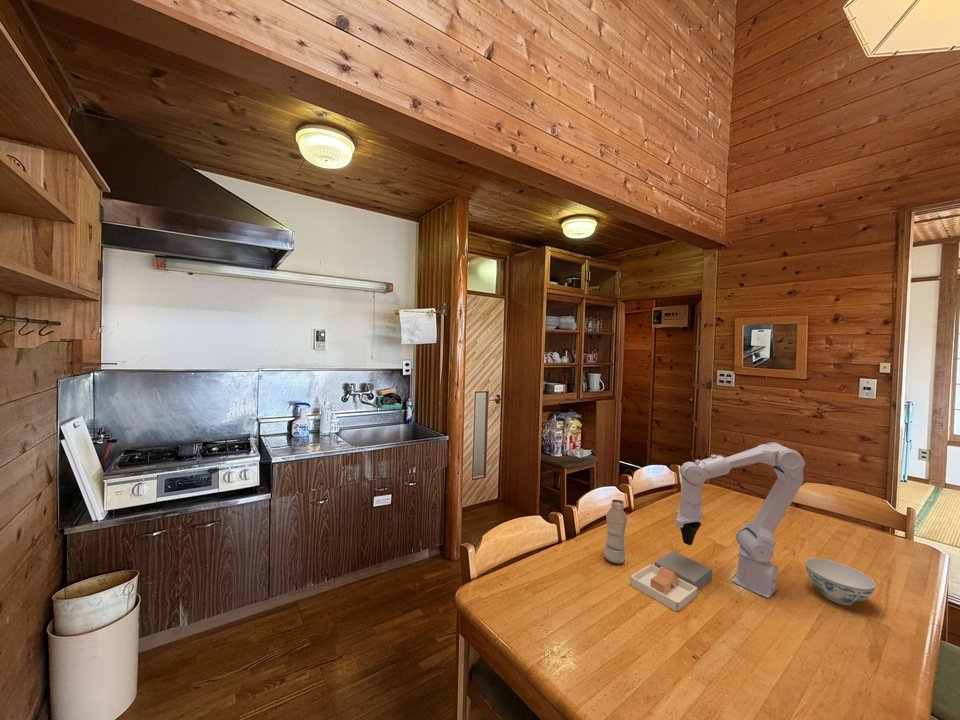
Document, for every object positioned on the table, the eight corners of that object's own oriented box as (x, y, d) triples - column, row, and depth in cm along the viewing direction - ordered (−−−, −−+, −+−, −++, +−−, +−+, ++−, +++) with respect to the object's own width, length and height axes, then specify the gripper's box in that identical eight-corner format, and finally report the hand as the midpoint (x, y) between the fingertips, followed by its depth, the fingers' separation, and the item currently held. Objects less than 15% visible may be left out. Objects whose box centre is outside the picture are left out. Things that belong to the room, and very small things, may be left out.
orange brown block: (674, 587, 111) (678, 578, 112) (670, 581, 109) (674, 572, 110) (661, 580, 114) (665, 571, 115) (657, 574, 112) (660, 565, 113)
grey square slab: (711, 579, 117) (712, 568, 116) (694, 593, 109) (695, 581, 109) (672, 561, 126) (673, 550, 126) (654, 572, 119) (654, 561, 119)
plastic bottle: (626, 568, 121) (630, 506, 120) (604, 564, 122) (608, 504, 121) (623, 557, 127) (626, 499, 126) (602, 554, 128) (606, 496, 128)
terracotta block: (664, 586, 106) (663, 596, 107) (671, 581, 109) (670, 591, 109) (650, 578, 110) (650, 588, 110) (657, 574, 112) (657, 584, 112)
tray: (697, 596, 108) (697, 587, 108) (677, 612, 101) (678, 603, 101) (650, 571, 119) (650, 563, 119) (629, 584, 112) (630, 576, 112)
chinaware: (862, 593, 113) (864, 568, 113) (882, 624, 100) (885, 595, 100) (798, 576, 121) (800, 552, 121) (809, 602, 108) (812, 576, 108)
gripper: (687, 492, 126) (685, 532, 126) (666, 501, 117) (663, 544, 117) (710, 499, 120) (707, 541, 121) (690, 510, 111) (687, 554, 112)
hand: (687, 543), depth 119 cm, fingers closed
